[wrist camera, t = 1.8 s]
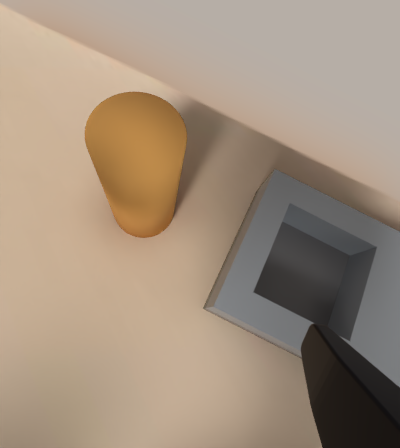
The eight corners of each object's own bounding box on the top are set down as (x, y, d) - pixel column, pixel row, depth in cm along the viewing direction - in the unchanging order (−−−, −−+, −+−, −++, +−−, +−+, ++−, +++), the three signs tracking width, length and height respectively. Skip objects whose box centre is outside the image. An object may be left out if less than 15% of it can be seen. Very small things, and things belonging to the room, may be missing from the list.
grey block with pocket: (203, 308, 22) (215, 306, 17) (256, 191, 25) (278, 164, 21) (460, 439, 22) (537, 469, 17) (481, 305, 25) (551, 302, 20)
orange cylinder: (122, 244, 22) (98, 191, 13) (107, 189, 23) (74, 101, 14) (181, 228, 23) (200, 167, 14) (164, 175, 24) (170, 84, 15)
